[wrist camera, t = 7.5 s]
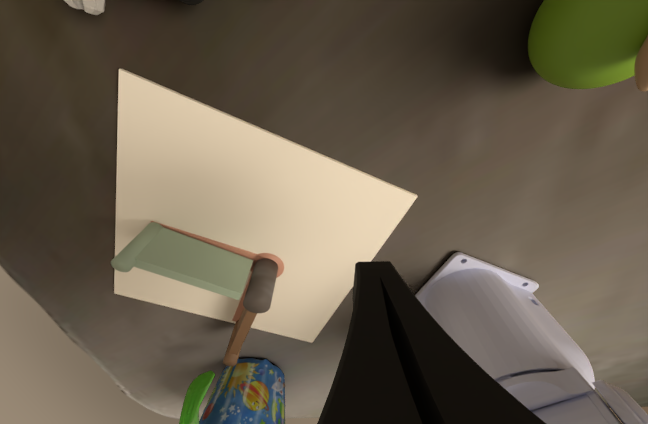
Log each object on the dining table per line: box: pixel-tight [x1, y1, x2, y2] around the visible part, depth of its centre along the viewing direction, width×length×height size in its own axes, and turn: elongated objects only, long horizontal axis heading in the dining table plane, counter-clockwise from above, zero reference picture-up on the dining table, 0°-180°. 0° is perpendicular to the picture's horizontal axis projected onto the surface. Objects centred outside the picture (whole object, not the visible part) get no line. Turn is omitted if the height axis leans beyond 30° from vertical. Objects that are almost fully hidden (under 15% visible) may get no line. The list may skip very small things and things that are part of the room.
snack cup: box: [179, 358, 285, 424], centre depth 28 cm, size 16×10×10 cm
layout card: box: [114, 69, 418, 343], centre depth 21 cm, size 20×20×1 cm
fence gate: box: [111, 222, 253, 300], centre depth 19 cm, size 1×8×4 cm, turn 62°
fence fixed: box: [223, 258, 278, 366], centre depth 22 cm, size 2×10×4 cm, turn 156°
